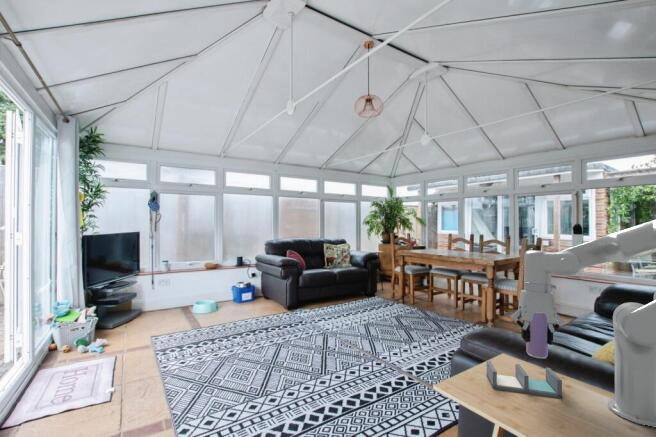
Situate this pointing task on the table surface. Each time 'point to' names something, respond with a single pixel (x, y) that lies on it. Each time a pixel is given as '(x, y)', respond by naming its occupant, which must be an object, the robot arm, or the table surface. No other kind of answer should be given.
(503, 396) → the table surface
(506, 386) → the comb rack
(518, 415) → the table surface
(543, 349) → the beverage can
